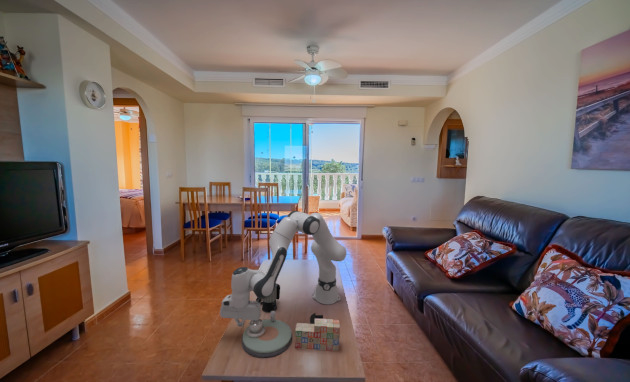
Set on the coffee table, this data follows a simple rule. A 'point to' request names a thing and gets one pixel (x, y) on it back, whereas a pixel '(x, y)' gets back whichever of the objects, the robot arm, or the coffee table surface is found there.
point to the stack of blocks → (318, 335)
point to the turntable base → (266, 355)
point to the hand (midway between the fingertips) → (240, 325)
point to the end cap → (313, 317)
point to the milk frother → (270, 300)
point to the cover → (255, 329)
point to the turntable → (269, 336)
